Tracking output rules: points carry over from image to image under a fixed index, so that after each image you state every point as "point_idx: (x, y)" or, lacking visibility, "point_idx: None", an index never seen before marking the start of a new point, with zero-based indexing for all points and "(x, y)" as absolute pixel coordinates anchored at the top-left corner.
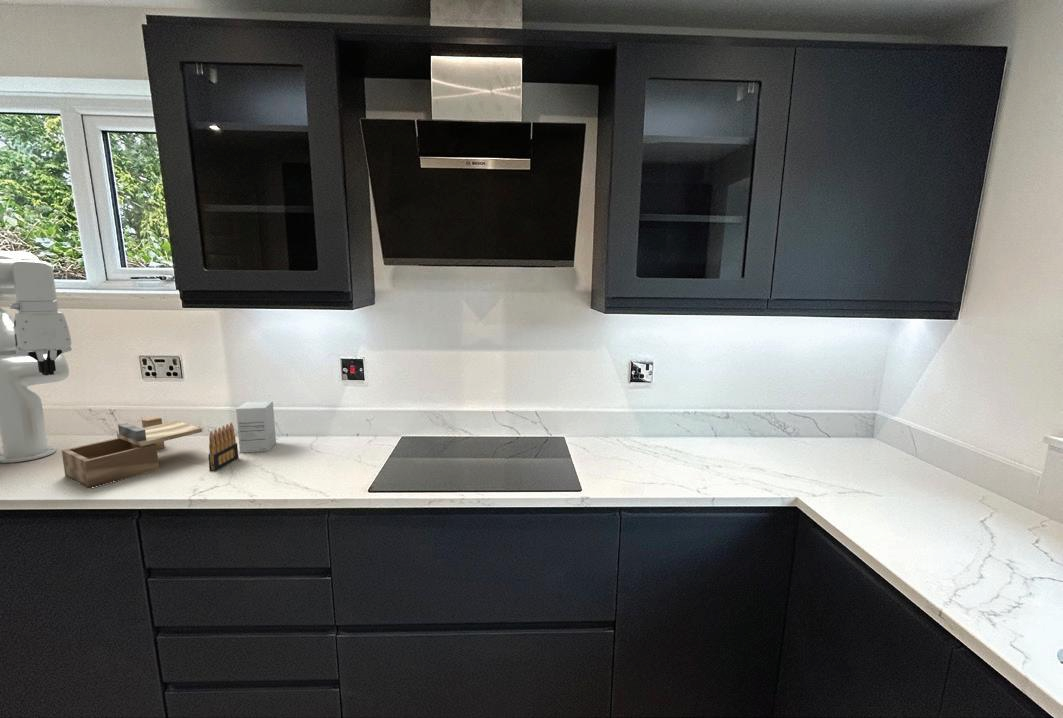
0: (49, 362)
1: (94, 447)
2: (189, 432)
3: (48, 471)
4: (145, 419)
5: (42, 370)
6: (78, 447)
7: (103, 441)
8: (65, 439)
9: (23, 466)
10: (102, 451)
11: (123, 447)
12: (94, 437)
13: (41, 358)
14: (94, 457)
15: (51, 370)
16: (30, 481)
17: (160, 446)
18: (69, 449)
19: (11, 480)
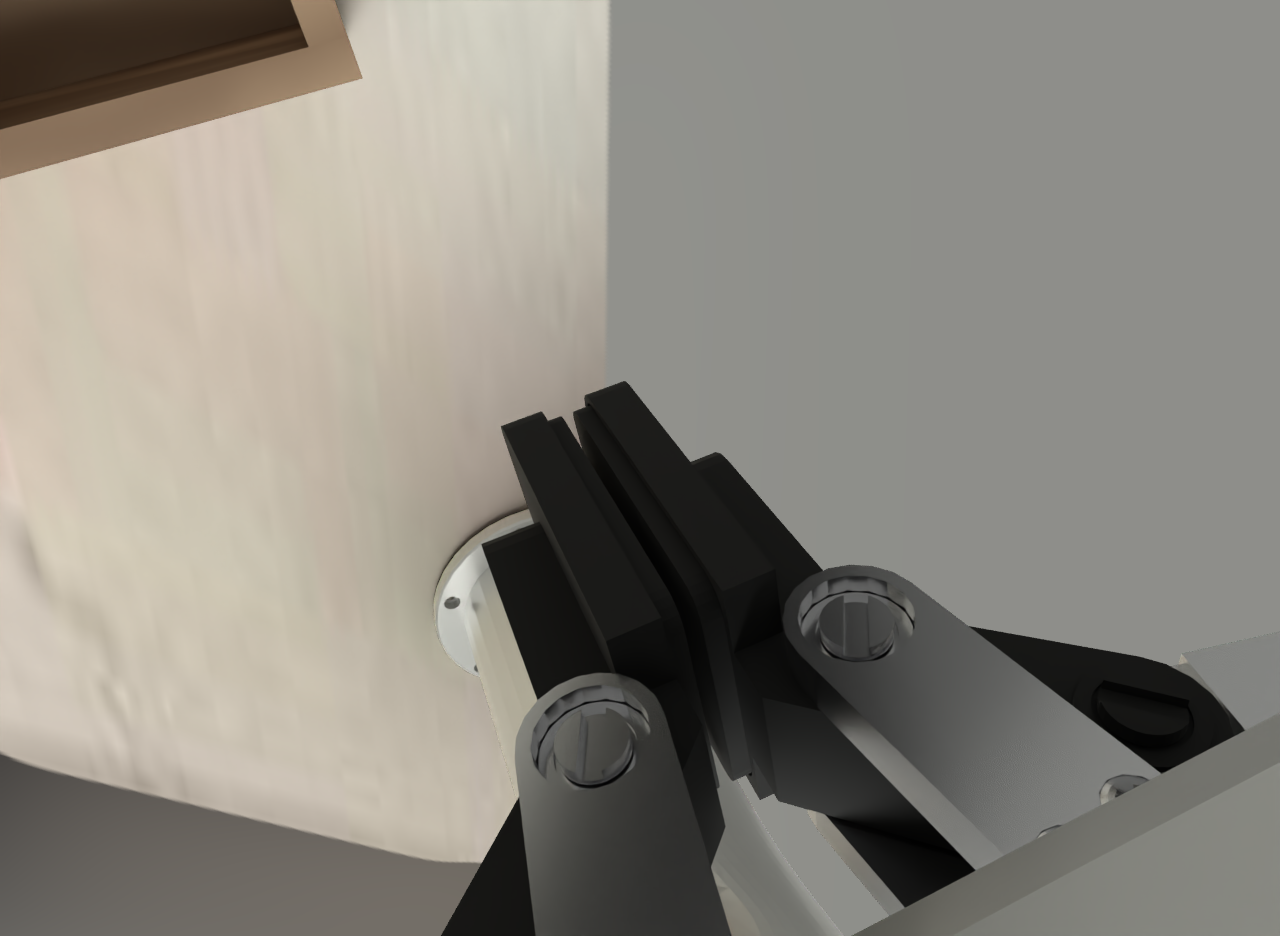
0: (646, 587)
1: (126, 92)
2: None
3: (441, 245)
4: None
5: (704, 465)
6: (242, 72)
7: (51, 148)
8: (406, 778)
9: None
10: (78, 97)
11: None
12: (276, 770)
13: (860, 647)
14: (145, 74)
15: (558, 454)
16: (516, 93)
17: None
18: (305, 53)
19: (595, 195)
